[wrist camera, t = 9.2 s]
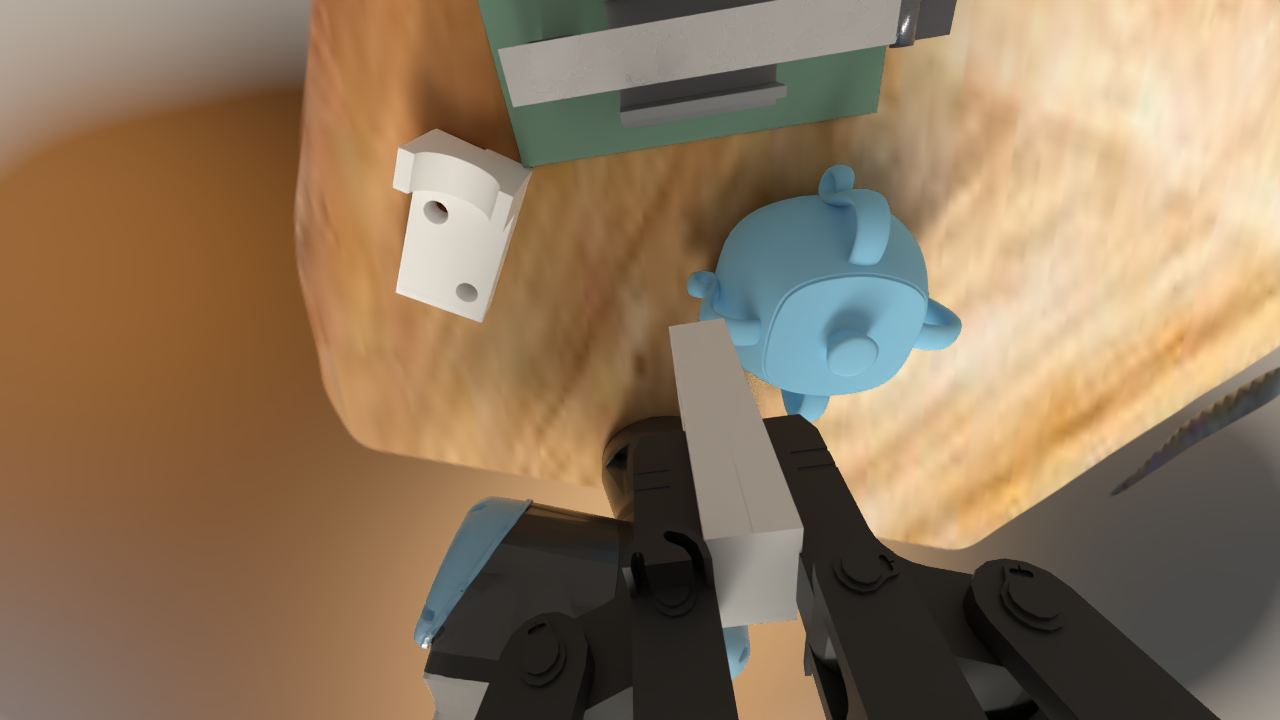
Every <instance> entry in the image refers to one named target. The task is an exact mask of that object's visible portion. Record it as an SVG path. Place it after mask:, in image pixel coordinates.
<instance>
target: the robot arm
mask: <svg viewBox="0 0 1280 720" xmlns="http://www.w3.org/2000/svg"><path fill="white" fill-rule="evenodd" d="M668 327H669V334H670V342H671V349H672V356H673V364H674V371H675V378H676V386H677V393H678V400H679V407H680V413H681V417H656V418H651V419H646V420H643V421H640V422H637V423H634V424H632V425H630V426H628V427H626V428H625V429H623V430H622V431H620V432H619V433H618V434H616V435H615V436H614V437H613V438H612V440H611V441H610V442H609V443H608V445H607V447H606V449H605V451H604V454H603V460H602V482H603V486H604V489H605V491H606V494H607V497H608V500H609V503H610V506H611V509H612V512H613V515H614V517H615V519H614V518H609V517H603V516H598V515H593V514H588V513H584V512H579V511H573V510H569V509H563V508H558V507H553V506H549V505H544V504H539V503H534V502H533V500H531V499H527V500H526V501H522V500H515V499H509V498H502V497H486V498H483V499H481V500H479V501H478V502H477V503H475V504H474V505H473V506H472V507H471V509H470V510H469V511H468V513H467V514H466V516H465V518H464V520H463V522H462V523H461V525H460V527H459V529H458V531H457V533H456V535H455V537H454V539H453V541H452V543H451V545H450V547H449V549H448V551H447V553H446V555H445V557H444V560H443V562H442V564H441V566H440V568H439V571H438V573H437V575H436V577H435V580H434V582H433V584H432V587H431V589H430V592H429V594H428V597H427V599H426V604H425V606H424V608H423V611H422V614H421V616H420V618H419V620H418V622H417V625H416V628H415V632H414V640H415V642H416V643H417V644H419V645H420V646H421V647H422V648H428V647H429V646H431V649H430V653H429V656H428V660H427V663H426V666H425V669H424V673H423V678H424V680H425V682H426V684H427V686H428V688H429V691H430V692H431V695H432V697H433V699H434V704H435V712H434V716H433V719H432V720H739V719H738V713H737V708H736V702H735V696H734V691H733V685H732V680H733V679H734V678H735V677H736V676H738V675H739V673H741V671H742V670H743V669H744V667H745V666H746V664H747V662H748V659H749V655H750V641H749V633H748V625H753V624H762V623H771V622H780V621H789V620H797V611H798V609H799V612H800V615H801V618H802V621H803V625H804V628H805V631H806V642H805V652H804V670H805V676H811V675H812V674H813V677H814V680H815V683H816V687H817V690H818V693H819V696H820V700H821V703H822V706H823V710H824V713H825V716H826V720H1220V719H1219V718H1218V717H1216V715H1215V714H1213V713H1212V712H1211V711H1210V710H1209V709H1208V708H1207V707H1205V706H1204V705H1203V704H1202V703H1201V702H1200V701H1199V700H1198V699H1196V698H1195V697H1194V696H1193V695H1192V694H1190V692H1189V691H1187V690H1186V689H1185V688H1184V687H1183V686H1182V685H1181V684H1180V683H1178V682H1177V681H1176V680H1175V679H1174V678H1173V677H1172V676H1170V675H1169V674H1168V673H1167V672H1166V671H1165V670H1164V669H1162V668H1161V667H1160V666H1159V665H1158V664H1157V663H1156V662H1155V661H1154V660H1152V659H1151V658H1150V657H1149V656H1148V655H1147V654H1146V653H1144V652H1143V651H1142V650H1141V649H1140V648H1139V647H1138V646H1136V645H1135V644H1134V643H1133V642H1132V641H1131V640H1130V639H1129V638H1127V637H1126V636H1125V635H1124V634H1123V633H1122V632H1121V631H1120V630H1118V629H1117V628H1116V627H1115V626H1114V625H1113V624H1112V623H1110V622H1109V621H1108V620H1107V619H1106V618H1105V617H1104V616H1102V615H1101V614H1100V613H1099V612H1098V611H1097V610H1096V609H1095V608H1093V607H1092V606H1091V605H1090V604H1089V603H1088V602H1087V601H1086V600H1084V599H1083V598H1082V597H1081V596H1080V595H1079V594H1078V593H1076V592H1075V591H1074V590H1073V589H1072V588H1071V587H1070V586H1068V585H1067V584H1065V583H1064V582H1063V581H1061V580H1060V579H1058V578H1057V577H1056V576H1054V575H1053V574H1051V573H1050V572H1048V571H1046V570H1043V569H1041V568H1039V567H1036V566H1034V565H1032V564H1029V563H1027V562H1023V561H1017V560H1010V559H998V560H992V561H987V562H985V563H984V564H983V565H981V566H980V567H979V568H978V569H976V570H975V572H974V575H972V574H966V573H961V572H955V571H950V570H945V569H939V568H933V567H928V566H924V565H921V564H917V563H913V562H911V561H909V560H906V559H904V558H902V557H900V556H898V555H896V554H895V553H894V552H893V551H891V550H890V549H889V548H887V547H886V546H884V545H883V544H882V543H881V542H880V541H879V540H878V539H877V538H876V537H875V536H874V534H873V533H872V532H871V530H870V529H869V527H868V525H867V523H866V521H865V519H864V518H863V516H862V514H861V512H860V510H859V508H858V506H857V504H856V502H855V500H854V498H853V496H852V494H851V492H850V491H849V489H848V487H847V485H846V483H845V481H844V479H843V477H842V475H841V473H840V471H839V469H838V467H836V465H835V462H834V460H833V458H832V456H831V454H830V452H829V451H828V450H827V446H826V444H825V442H824V440H823V438H822V437H821V435H820V433H819V431H818V429H817V428H816V427H815V426H814V425H812V424H811V423H810V422H809V421H808V420H806V419H805V418H804V417H803V416H802V415H800V414H794V415H787V416H780V417H772V418H765V419H762V417H761V415H760V412H759V409H758V407H757V404H756V402H755V399H754V396H753V394H752V391H751V389H750V386H749V383H748V381H747V378H746V375H745V373H744V370H743V368H742V365H741V362H740V360H739V357H738V354H737V352H736V349H735V347H734V344H733V341H732V339H731V336H730V334H729V331H728V328H727V326H726V323H725V320H724V318H721V319H714V320H708V321H701V322H694V323H688V324H681V325H674V326H668Z"/></svg>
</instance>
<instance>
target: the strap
mask: <svg viewBox="0 0 1280 720" xmlns="http://www.w3.org/2000/svg"><path fill="white" fill-rule="evenodd" d="M920 5H921V0H775V1H770V2H764V3H758V4H753V5H747V6H741V7H736V8H730V9H724V10H718V11H713V12H707V13H701V14H696V15H690V16H684V17H679V18H673V19H667V20H662V21H656V22H650V23H645V24H639V25H633V26H627V27H622V28H616V29H610V30H605V31H599V32H593V33H588V34H582V35H576V36H571V37H565V38H559V39H554V40H548V41H542V42H536V43H531V44H525V45H519V46H514V47H508V48H502V49H498V52H499V56H500V60H501V63H502V67H503V71H504V75H505V78H506V82H507V86H508V90H509V93H510V97H511V101H512V104H513V107H518V106H524V105H530V104H536V103H542V102H548V101H554V100H560V99H566V98H572V97H578V96H584V95H590V94H596V93H602V92H608V91H614V90H620V89H626V88H632V87H638V86H644V85H649V84H655V83H661V82H667V81H673V80H679V79H685V78H691V77H697V76H703V75H709V74H715V73H721V72H727V71H733V70H739V69H745V68H751V67H757V66H763V65H769V64H775V63H781V62H787V61H793V60H799V59H805V58H811V57H817V56H823V55H829V54H835V53H841V52H847V51H853V50H859V49H865V48H871V47H877V46H883V45H889V44H890V45H889V48H899V47H906V46H911V45H914V40H915V34H916V28H917V22H918V17H919V11H920Z"/></svg>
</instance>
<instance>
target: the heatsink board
mask: <svg viewBox="0 0 1280 720" xmlns="http://www.w3.org/2000/svg"><path fill="white" fill-rule="evenodd" d="M477 1H478V4H479V8H480V12H481V15H482V19H483V23H484V26H485V30H486V33H487V37H488V41H489V44H490V48H491V52H492V55H493V59H494V63H495V66H496V70H497V73H498V77H499V81H500V84H501V88H502V92H503V95H504V99H505V102H506V106H507V110H508V113H509V117H510V121H511V124H512V128H513V131H514V135H515V139H516V142H517V146H518V150H519V153H520V157H521V160H522V164H523V168H527V167H533V166H539V165H546V164H552V163H558V162H565V161H571V160H577V159H584V158H590V157H596V156H603V155H609V154H615V153H622V152H628V151H634V150H641V149H647V148H653V147H660V146H666V145H672V144H679V143H685V142H692V141H698V140H704V139H711V138H717V137H723V136H730V135H736V134H742V133H749V132H755V131H761V130H768V129H774V128H780V127H787V126H793V125H799V124H806V123H812V122H818V121H825V120H831V119H838V118H844V117H850V116H857V115H863V114H869V113H876V112H877V107H878V100H879V93H880V86H881V79H882V72H883V65H884V58H885V51H886V45H883V46H877V47H871V48H865V49H859V50H853V51H847V52H841V53H835V54H829V55H823V56H817V57H811V58H805V59H799V60H793V61H787V62H781V63H775V64H769V65H763V66H757V67H751V68H745V69H739V70H733V71H727V72H721V73H715V74H709V75H703V76H697V77H691V78H685V79H679V80H673V81H667V82H661V83H655V84H649V85H644V86H638V87H632V88H626V89H620V90H614V91H608V92H602V93H596V94H590V95H584V96H578V97H572V98H566V99H560V100H554V101H548V102H542V103H536V104H530V105H524V106H518V107H513V104H512V101H511V97H510V93H509V90H508V86H507V82H506V78H505V75H504V71H503V67H502V63H501V60H500V56H499V52H498V49H502V48H508V47H514V46H519V45H525V44H531V43H536V42H542V41H548V40H554V39H559V38H565V37H571V36H576V35H582V34H588V33H593V32H599V31H605V30H610V29H616V28H622V27H627V26H633V25H639V24H645V23H650V22H656V21H662V20H667V19H673V18H679V17H684V16H690V15H696V14H701V13H707V12H713V11H718V10H724V9H730V8H736V7H741V6H747V5H753V4H758V3H764V2H770V1H775V0H477ZM956 1H957V0H921V5H920V11H919V17H918V22H917V28H916V34H915V40H919V39H925V38H931V37H937V36H943V35H949V34H950V30H951V25H952V20H953V16H954V11H955V6H956Z"/></svg>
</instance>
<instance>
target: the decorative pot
mask: <svg viewBox="0 0 1280 720" xmlns="http://www.w3.org/2000/svg"><path fill="white" fill-rule="evenodd" d="M854 181H855V174H854V171H853V169H852V168H851V167H849V166H847V165H843V164H837V165H834V166H831V167H829V168H828V169H827V170H826V171H825V173H824V174H823V176H822V178H821V180H820V183H819V188H818V195H808V196H800V197H795V198H790V199H785V200H782V201H778V202H775V203H771V204H769V205H766V206H764V207H761V208H759V209H757V210H755V211H754V212H752V213H750V214H748V215H747V216H746V217H744V218H743V219H742V220H741V221H740V222H739V223H738V224H737V225H736V226H735V227H734V228H733V229H732V231H731V232H730V234H729V236H728V237H727V239H726V241H725V243H724V246H723V249H722V251H721V254H720V257H719V260H718V264H717V267H716V271H715V273H713V272H710V271H698V272H695V273H693V274H692V275H691V276H690V277H689V279H688V281H687V292H688V294H689V295H691V296H693V297H697V298H703V301H702V303H701V306H700V310H699V322H701V321H708V320H714V319H721V318H724V320H725V323H726V326H727V328H728V331H729V334H730V336H731V339H732V341H733V344H734V347H735V349H736V352H737V354H738V357H739V360H740V362H741V365H742V367H743V368H744V369H745V370H747V371H748V372H750V373H751V374H753V375H755V376H756V377H758V378H760V379H761V380H763V381H765V382H767V383H769V384H771V385H773V386H775V387H778V388H780V389H781V393H782V398H783V402H784V406H785V409H786V412H787V414H788V415H794V414H800V415H802V416H803V417H804V418H805V419H806V420H808V421H809V422H812V421H815V420H817V419H818V418H820V417H821V416H822V414H823V413H824V411H825V409H826V407H827V404H828V401H829V397H830V396H831V395H844V394H852V393H857V392H862V391H866V390H870V389H873V388H875V387H878V386H880V385H882V384H884V383H885V382H887V381H888V380H890V379H891V378H892V377H893V376H894V375H895V374H896V373H897V372H898V371H899V369H900V368H901V367H902V365H903V364H904V362H905V361H906V359H907V357H908V356H909V354H910V352H911V350H912V348H917V349H923V350H941V349H944V348H946V347H948V346H950V345H951V344H952V343H953V342H954V341H955V340H956V339H957V337H958V336H959V334H960V331H961V327H962V324H961V321H960V319H959V317H958V316H957V315H956V314H954V313H953V312H952V311H951V310H949V309H948V308H946V307H945V306H943V305H941V304H940V303H938V302H936V301H934V300H933V299H931V298H929V292H928V279H927V270H926V265H925V261H924V257H923V254H922V252H921V249H920V247H919V245H918V244H917V242H916V240H915V238H914V237H913V235H912V233H911V232H910V231H909V230H908V228H907V227H906V226H905V225H904V224H903V223H902V222H901V221H900V220H899V219H898V218H896V217H895V216H894V215H893V214H891V213H890V208H889V205H888V202H887V200H886V199H885V197H884V196H883V195H882V194H880V193H878V192H876V191H874V190H870V189H853V185H854Z"/></svg>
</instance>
